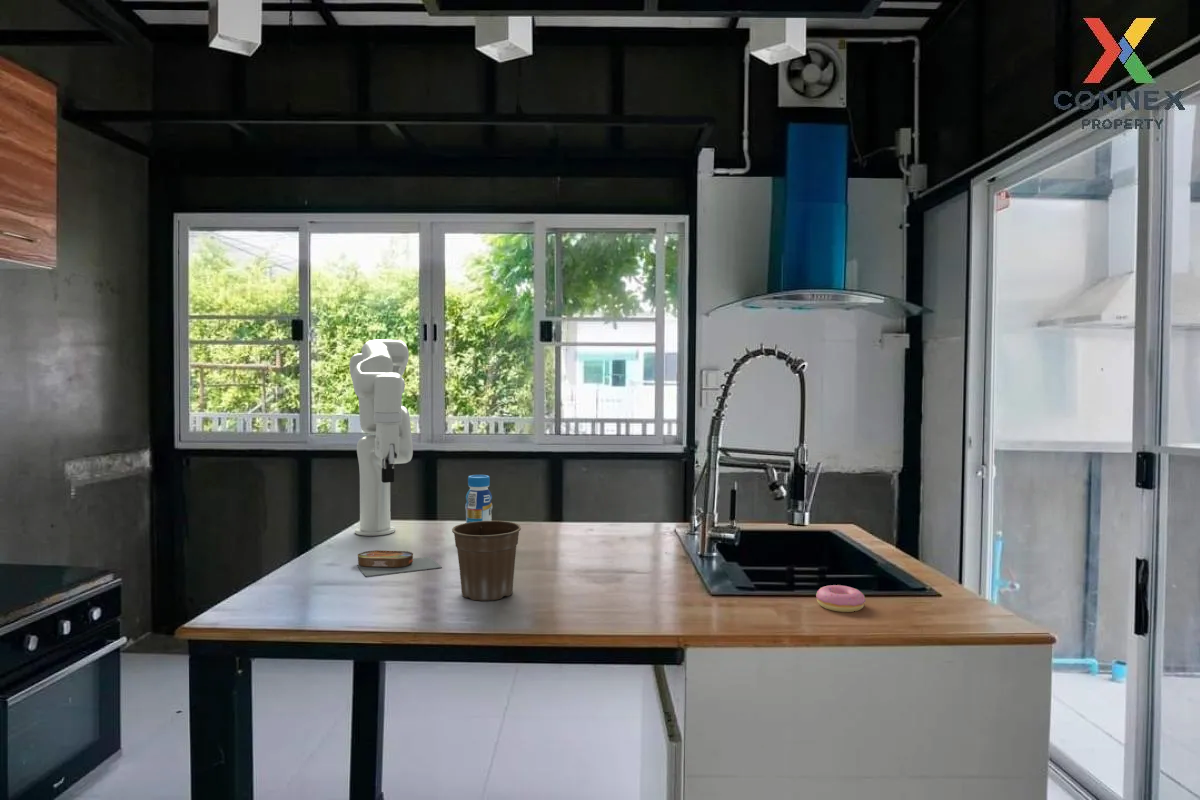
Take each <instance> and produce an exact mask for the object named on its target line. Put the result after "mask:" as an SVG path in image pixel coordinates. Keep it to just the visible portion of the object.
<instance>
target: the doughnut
mask: <svg viewBox="0 0 1200 800" xmlns="http://www.w3.org/2000/svg"><path fill="white" fill-rule="evenodd" d="M815 596H816V597H815V598H816V601H817V603H818V605H819V606H820V607H822V608H824V609H826V610H828V611H833V612H839V613H840V612H841V613H854V611H855V612H858V611H860V610H862V609H863V608H864V606H865V602H866V596H865V594H864V593H863V592H862V591H860V590H859V589H858V588H854V587H851V586H847V585H841V584H837V585H836V584H833V585H831V584H830V585H826V586H822V587H820V588H819V589H818V590H817V591H816V594H815Z"/></svg>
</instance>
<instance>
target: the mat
mask: <svg viewBox="0 0 1200 800" xmlns="http://www.w3.org/2000/svg"><path fill="white" fill-rule="evenodd" d="M356 566H358V567H359V568H360V569H359V568H358V567H357V568H358V569H359V570H360V572H361V571H362V572H363V573H362V572H361V573H362V574H363V576H364V577H365V576H371V577H375V576H374V575H379V576H383V575H382V574H388V575H393V574H392V573H396V574H401V573H400V572H404V573H410V572H409V571H413V572H419V571H418V570H421V571H428V570H427V569H430V570H436V568H438V569H442V568H443V566H442V565H440V564H439V563H438V562H437V561H436V560H434V559H433V558H432V557H431V556H426V557H423V556H422V557H417V558H414V557H413V562H412V563H411V564H410V565H408V566H405V567H398V568H384V567H364V566H360V565H359V564H356Z"/></svg>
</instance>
